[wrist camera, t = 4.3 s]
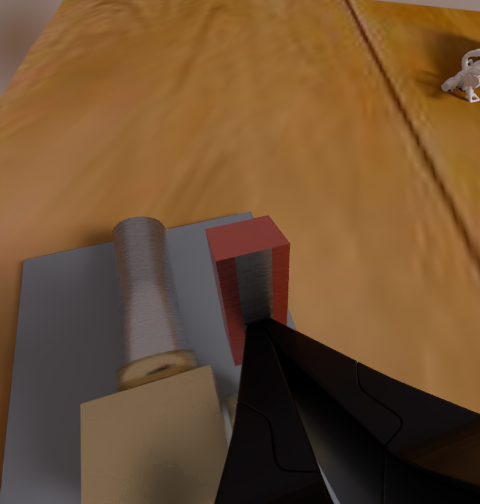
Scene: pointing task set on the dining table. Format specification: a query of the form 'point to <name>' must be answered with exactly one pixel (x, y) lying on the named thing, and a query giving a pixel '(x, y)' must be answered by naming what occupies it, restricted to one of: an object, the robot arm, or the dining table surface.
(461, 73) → the rocket engine
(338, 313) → the dining table surface
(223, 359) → the mounting board
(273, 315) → the lever
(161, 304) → the valve
